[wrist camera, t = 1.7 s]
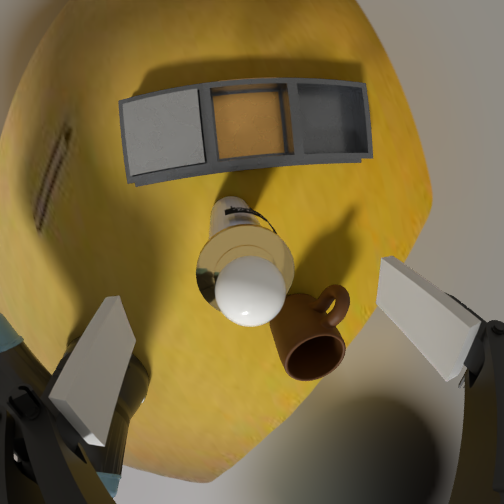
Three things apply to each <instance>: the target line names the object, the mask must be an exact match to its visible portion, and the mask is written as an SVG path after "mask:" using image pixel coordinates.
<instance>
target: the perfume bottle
mask: <svg viewBox="0 0 504 504" xmlns="http://www.w3.org/2000/svg"><path fill="white" fill-rule="evenodd" d="M253 212H254V213H253ZM255 212H256V211H254V210H253V211H252V209H251V208H250V207H249V206H248V204H247V203H246V202H245V201H244V200H242V199H241V198H238V197H234V196H228V197H224V198H222V199H220V200H219V201H217V202H216V203H215V205H214V206H213V208H212V211H211V216H210V229H209V240H208V242H207V243H206V244H205V245H204V247H203V249H202V250H201V252H200V255H199V258H198V261H197V269H196V279H197V284H198V287H199V290H200V292H201V294H202V295H203V297H204V298H205V300H206V301H207V302H208V303H209V304H210V305H211V306H213V307H214V308H216V309H217V310H219V311H221V312H222V313H223V314H224V315H225V316H226V318H228V319H229V320H230V321H232V322H234V323H236V324H238V325H241V326H246V327H254V326H260V325H263V324H265V323H268V322H269V321H271V320H272V319H273V318H274V317H276V316H277V314H278V313H279V312H280V310H281V308H282V306H283V304H284V302H285V297H286V294H287V293H288V291H289V289H290V287H291V285H292V281H293V278H294V261H293V257H292V255H291V252H290V250H289V248H288V247H287V245H286V244H285V242H284V241H283V240H282V239H281V238H280V237H279V236H278V235H277V233H276V231H275V230H274V228H273V227H272V226H271V224H270V223H269V222H268V223H269V225H270V226H271V227H272V228H273V230H274V231H271V230H269V229H268V228H265V227H262V226H261V224H260V223H259V221H258V220H257V218H256V216H259V217H261V218H262V219H264V218H263V217H262V215H261V214H258V212H256V213H257V214H256V213H255ZM255 215H256V216H255ZM260 215H261V216H260ZM264 220H265V221H266V222H267V219H264Z"/></svg>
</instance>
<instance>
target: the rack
mask: <svg viewBox="0 0 504 504" xmlns="http://www.w3.org/2000/svg"><path fill="white" fill-rule="evenodd" d="M119 116H120V128H121V138H122V147H123V155H124V163H125V170H126V176H127V183H128V184H130V183H134V182H135V186H136V187H138V186H143V185H148V184H153V183H159V182H164V181H170V180H176V179H182V178H188V177H194V176H201V175H208V174H215V173H223V172H231V171H239V170H248V169H257V168H268V167H279V166H293V165H308V164H328V163H361V158H373V148H372V134H371V122H370V113H369V104H368V96H367V88H366V83H360V82H351V81H342V80H330V79H314V78H278V77H270V78H246V79H233V80H222V81H217V82H209V83H201V84H194V85H188V86H182V87H176V88H170V89H165V90H160V91H156V92H151V93H147V94H142V95H138V96H134V97H130V98H127V99H123V100H119Z"/></svg>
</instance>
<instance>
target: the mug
mask: <svg viewBox="0 0 504 504" xmlns="http://www.w3.org/2000/svg"><path fill="white" fill-rule="evenodd" d="M335 299H336V302H335V305H334V308H333V309H332V310H331V311H330V312H329V313H328V314H327V313H326V312H325V311H326V310H327V309H328V308H329V307H330V305H331V304H332V302H333V301H334V300H335ZM349 305H350V297H349V293H348V292H347V290H346V289H345V288H344V287H342V286H341V285H331V286H329V287H327V288H326V289H325V290H324V291H323V292H322V294H321V295H320V297H319V298H318V299H317V300H316V299H315V298H314V297H312V296H310V295H308V294H292V295H289V296H287V297H285V302H284V304H283V306H282V308H281V310H280V312H279V313H278V314H277V316H276V317H274V318H273V319H272V320H271V321H270V328H271V331H272V334H273V338H274V341H275V344H276V348H277V351H278V354H279V357H280V360H281V362H282V364H283V366H284V368H285V371H286V372H287V374H288V375H289V376H291V377H292V378H294V379H296V380H301V381H311V380H316V379H319V378H322V377H324V376H326V375H328V374H329V373H331V372H332V371H333V370H335V369H336V368H337V366H339V364H340V363H341V361H342V360H343V358H344V355H345V351H346V347H345V343H344V340H343V339H342V337H341V335H340V333H339V331H338V329H337V328H336V325H338V324H339V323H340V322H341V321H342V320H343V319H344V317H345V315H346V313H347V311H348V308H349Z"/></svg>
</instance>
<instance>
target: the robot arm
mask: <svg viewBox="0 0 504 504" xmlns="http://www.w3.org/2000/svg"><path fill="white" fill-rule="evenodd" d="M376 304H377V305H378V306H379V307H380V308H381V309H382V310H383V312H385V313H386V315H387V316H388V317H389V318H390V319H391V320H392V321H393V322H394V323H395V324H396V325H397V326H398V328H400V330H401V331H402V332H403V333H404V334H405V335H406V336H407V337H408V338H409V340H410V341H411V342H412V343H413V344H414V345H415V346H416V347H417V348H418V349H419V351H420V352H421V353H422V354H423V355H424V356H425V357H426V359H427V360H428V361H429V362H430V363H431V364H432V365H433V367H434V368H435V369H436V370H437V371H438V373H439V374H440V375H441V376H442V377H443V378H444V380H445V381H446V382H447V381H449V380H450V379H452V378H454V377H456V376H457V375H458V374H459V372H460V370H461V368H462V366H463V364H464V365H465V366H466V367H467V370H466V372H465V374H464V376H463V378H462V379H461V381H460V383H459V388H460V387H461V386H462V384H463V382H465V386H464V387H463V388H465V403H464V420H463V432H462V440H461V448H460V454H459V461H458V466H457V472H456V476H455V481H454V485H453V489H452V493H451V497H450V501H449V504H504V323H503V322H501V321H497V320H492V321H489V322H488V323H487V322H486V321H484V320H483V319H482V318H481V317H479V316H478V315H477V314H476V313H474V312H473V311H472V310H471V309H469V308H467V306H466V305H464V304H463V303H461V302H460V301H459V300H458V299H456V298H455V297H454V296H452V295H449V294H447V293H445V292H443V291H442V290H440V289H439V288H438V287H436V286H435V285H434V284H432V283H431V282H429V281H428V280H426V279H425V278H424V277H422V276H421V275H420V274H418V273H417V272H415V271H414V270H413V269H411V268H410V267H408V266H407V265H405V264H404V263H402V262H401V261H399V260H398V259H397V258H395V257H394V256H389V257H384V258H381V265H380V275H379V284H378V292H377V300H376ZM23 340H24V339H23V338H22V336H19V335H18V334H17V332H16V331H15V330H14V328H13V327H12V326H11V325H10V323H9V322H8V321H7V319H6V318H5V317H4V316H3V315H2V314H1V313H0V504H116V503H115V501H114V500H113V497H115V495H116V493H117V489H118V484H119V480H120V479H121V472H122V465H123V458H124V451H125V445H126V439H127V433H128V427H129V423H130V419H131V418H132V416H133V415H134V414H135V412H136V411H137V409H138V408H139V406H140V405H141V403H142V402H143V401H144V400H145V398H146V395H147V391H148V386H149V378H148V374H147V372H146V370H145V368H144V366H143V365H142V364H141V362H140V361H139V360H138V359H137V358H136V357H135V356H134V355H133V354H132V351H133V348H134V345H135V342H136V339H135V337H134V334H133V332H132V329H131V327H130V324H129V321H128V319H127V316H126V313H125V311H124V308H123V305H122V302H121V299H120V296H111V297H106V298H105V299H104V301H103V303H102V304H101V306H100V307H99V309H98V310H97V312H96V313H95V315H94V317H93V318H92V320H91V321H90V323H89V325H88V326H87V328H86V329H85V331H84V333H83V334H82V336H81V337H79V338H77V339H75V340H73V341H72V342H71V343H70V344H69V346H68V348H67V349H66V351H65V353H64V355H63V358H62V359H61V360H60V362H59V364H58V366H57V368H56V370H55V371H54V373H53V375H51V374H50V373H49V372H48V370H47V369H46V368H45V367H44V366H43V365H42V364H41V362H40V361H39V360H38V359H37V358H36V357H35V355H34V354H33V353H32V352H31V350H30V349H29V348H28V347H27V345H26V344H25V343H24V342H23ZM14 454H16V456H18V461H15V460H14Z"/></svg>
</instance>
